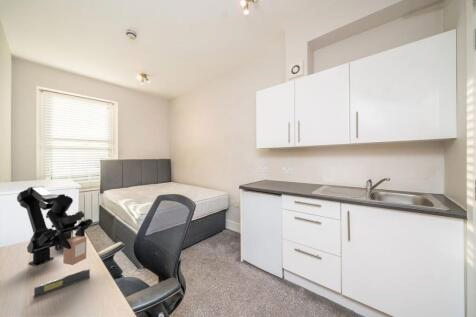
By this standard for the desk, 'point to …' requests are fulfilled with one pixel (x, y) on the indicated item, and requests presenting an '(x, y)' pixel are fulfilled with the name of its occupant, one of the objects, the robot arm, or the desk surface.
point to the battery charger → (67, 236)
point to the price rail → (61, 283)
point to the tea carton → (75, 250)
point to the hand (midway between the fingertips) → (77, 245)
